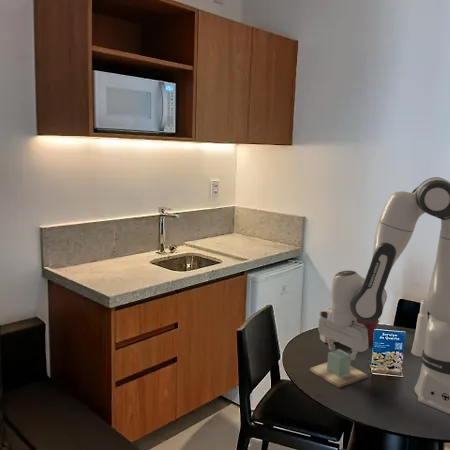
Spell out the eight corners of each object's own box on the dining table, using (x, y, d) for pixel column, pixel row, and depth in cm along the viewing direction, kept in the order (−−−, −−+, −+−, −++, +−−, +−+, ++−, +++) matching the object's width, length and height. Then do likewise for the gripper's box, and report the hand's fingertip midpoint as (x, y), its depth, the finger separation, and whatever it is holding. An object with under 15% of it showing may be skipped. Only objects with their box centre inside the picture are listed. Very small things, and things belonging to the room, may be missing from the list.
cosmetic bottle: (430, 354, 190) (436, 300, 186) (422, 358, 186) (428, 304, 182) (415, 349, 194) (421, 296, 190) (407, 353, 190) (413, 299, 186)
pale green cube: (349, 372, 171) (351, 355, 170) (338, 376, 168) (340, 358, 166) (337, 366, 175) (339, 349, 174) (326, 369, 172) (328, 352, 171)
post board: (366, 377, 170) (368, 359, 169) (339, 387, 162) (340, 368, 161) (337, 361, 181) (338, 344, 180) (309, 370, 174) (310, 352, 172)
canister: (353, 345, 196) (357, 303, 192) (340, 332, 208) (343, 293, 205) (383, 343, 198) (387, 302, 195) (367, 330, 211) (371, 292, 208)
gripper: (373, 324, 161) (371, 363, 163) (328, 306, 178) (327, 342, 180) (361, 328, 157) (358, 367, 160) (316, 310, 174) (314, 346, 177)
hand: (341, 354), depth 170 cm, fingers open, 8 cm apart
